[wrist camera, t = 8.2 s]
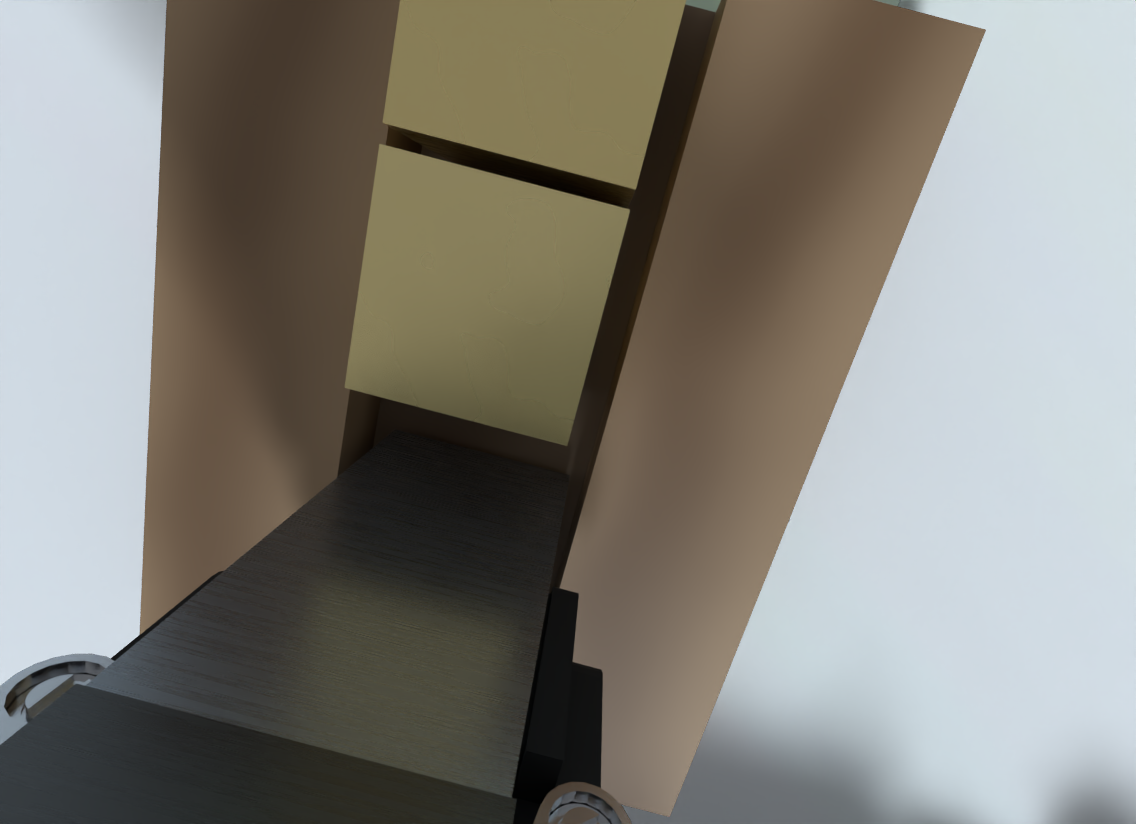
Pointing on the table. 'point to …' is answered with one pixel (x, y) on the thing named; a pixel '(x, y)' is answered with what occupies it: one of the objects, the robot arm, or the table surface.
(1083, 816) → the table surface
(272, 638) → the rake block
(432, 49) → the tan wooden cube
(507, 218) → the olive yellow cube
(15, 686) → the robot arm
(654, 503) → the slot board
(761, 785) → the table surface
